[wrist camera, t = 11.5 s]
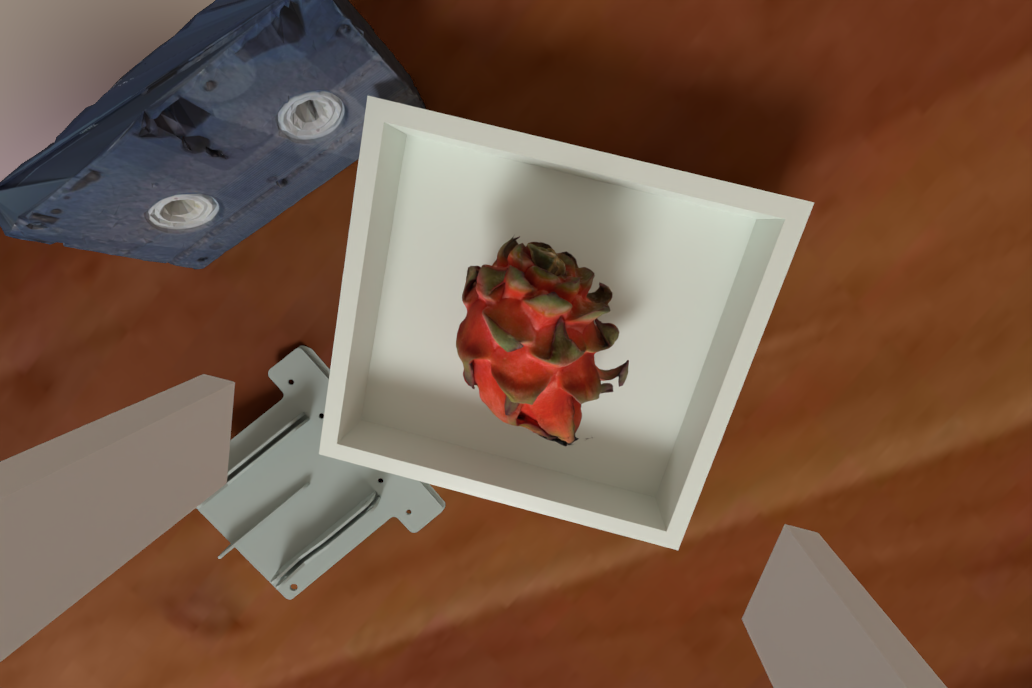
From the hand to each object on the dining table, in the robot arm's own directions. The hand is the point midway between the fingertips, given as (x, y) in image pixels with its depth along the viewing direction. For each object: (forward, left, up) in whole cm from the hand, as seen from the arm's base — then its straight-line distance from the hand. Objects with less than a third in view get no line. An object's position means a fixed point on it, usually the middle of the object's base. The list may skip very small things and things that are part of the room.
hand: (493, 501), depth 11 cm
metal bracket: (-13, -15, -20) cm, 28 cm away
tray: (0, 0, -19) cm, 19 cm away
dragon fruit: (0, 0, -19) cm, 19 cm away
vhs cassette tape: (-16, +5, -20) cm, 26 cm away
